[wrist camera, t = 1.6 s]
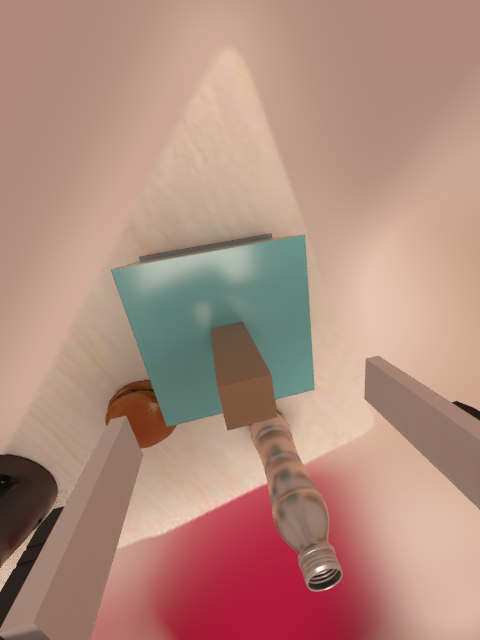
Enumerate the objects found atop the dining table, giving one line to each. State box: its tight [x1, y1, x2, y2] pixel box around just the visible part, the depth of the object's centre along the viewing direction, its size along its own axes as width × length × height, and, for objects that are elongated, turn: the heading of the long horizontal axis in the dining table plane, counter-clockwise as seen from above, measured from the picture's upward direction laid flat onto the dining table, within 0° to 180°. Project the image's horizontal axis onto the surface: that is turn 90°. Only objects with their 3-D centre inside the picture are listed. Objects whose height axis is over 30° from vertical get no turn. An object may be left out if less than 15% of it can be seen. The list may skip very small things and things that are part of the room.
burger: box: [106, 380, 176, 448], centre depth 33 cm, size 10×9×5 cm
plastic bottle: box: [251, 413, 343, 591], centre depth 30 cm, size 6×7×20 cm
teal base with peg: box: [111, 235, 314, 430], centre depth 22 cm, size 16×16×20 cm
